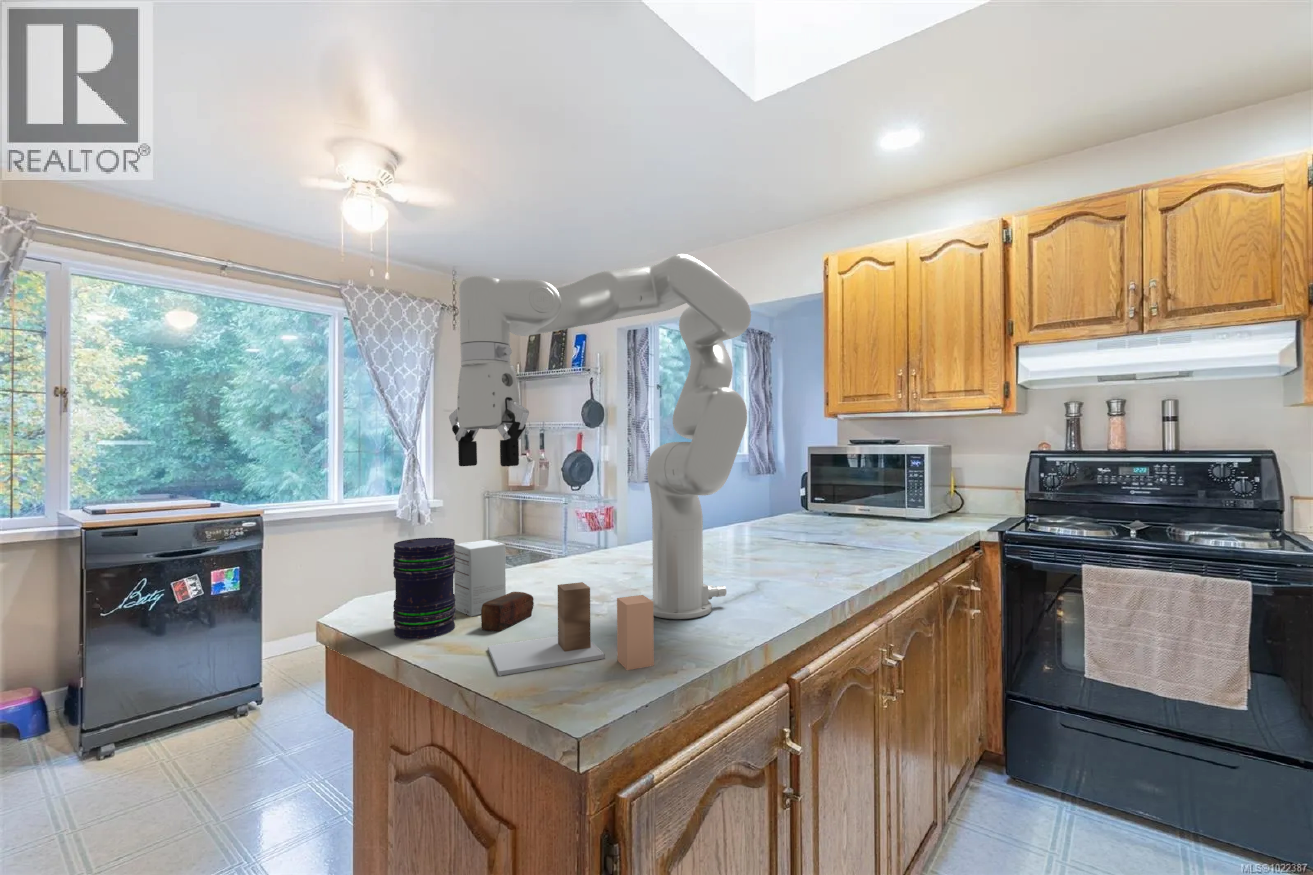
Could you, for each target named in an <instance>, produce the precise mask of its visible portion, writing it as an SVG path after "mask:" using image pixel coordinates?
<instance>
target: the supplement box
mask: <svg viewBox="0 0 1313 875" xmlns="http://www.w3.org/2000/svg"><path fill="white" fill-rule="evenodd" d="M454 548H455V567H456V568H455V573H454V574H453V592H454V595H455V599H456V601H455V605H456V611H458V612H460V613H461V614H464V615H466V614H467V615H466V616H469V617H475V616H479V615H480V616H481V609H482V605H483V604H484V603H485V602H487V601H489V600H493V599H496V598H499V597H501V596H504V595H506V594H507V592H506V591H507V590H506V587H507V586H506V584H507V583H506V580H507V579H506V544H505V543H504V542H500V541H495V540H490V539H483V540H477V541H468V542H461V543H455V545H454Z"/></svg>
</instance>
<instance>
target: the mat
mask: <svg viewBox="0 0 1313 875" xmlns="http://www.w3.org/2000/svg"><path fill="white" fill-rule="evenodd" d="M487 650H488V651H487V652H488V653H489V655H490V658H491V661H492V662H493V663H492V664H493V665H494V667H495V670H496V673H497V675H498V676H499V677H500V676H505V675H513V674H517V673H524V672H530V671H531V672H532V671H536V670H541V669H542V670H543V669H548V668H553V667H560V666H566V665H567V666H568V665H573V664H578V663H585V662H590V661H597V660H603V659H605V654H604V652H603V651H602V650H601V649H600V648H599V647H598V646H597V645H596V644H595V643H594V642H593V641H592V640H591V648H585V649H579V650H572V651H566V652H564V650H563V649H562V648H561V647H560V645H559V644H558V635H555V636H554V635H553V636H547V637H541V638H534V639H525V640H519V641H512V642H506V643H505V642H504V643H499V644H492V645H487Z"/></svg>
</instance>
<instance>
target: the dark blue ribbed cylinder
mask: <svg viewBox="0 0 1313 875" xmlns="http://www.w3.org/2000/svg"><path fill="white" fill-rule="evenodd" d="M455 544H456V540H455V539H454V538H449V537H422V538H411V539H405V540H400V541H397V542H394V543H393V549H394V552H393V560H392V563H393V564H392V566H393V573H392V574H393V577H394V579H395V599H394V601H393V612H392V613H393V614H392V616H393V617H392V619H393V621H394V622H393V625H394V630H393V635H394V637H395V636H396V637H395V638H397V639H402V640H410V641H413V640H427V639H431V638H432V639H433V638H436V636H438V637H441V636H443V635H444V636H445V635H447V634H448V633H451V632H453V631H454V630H455V627H456V622H455V619H456V611H457V610H456V605H455V601H456V599H455V595H454V573H455V568H456V567H455V548H454V545H455Z"/></svg>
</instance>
